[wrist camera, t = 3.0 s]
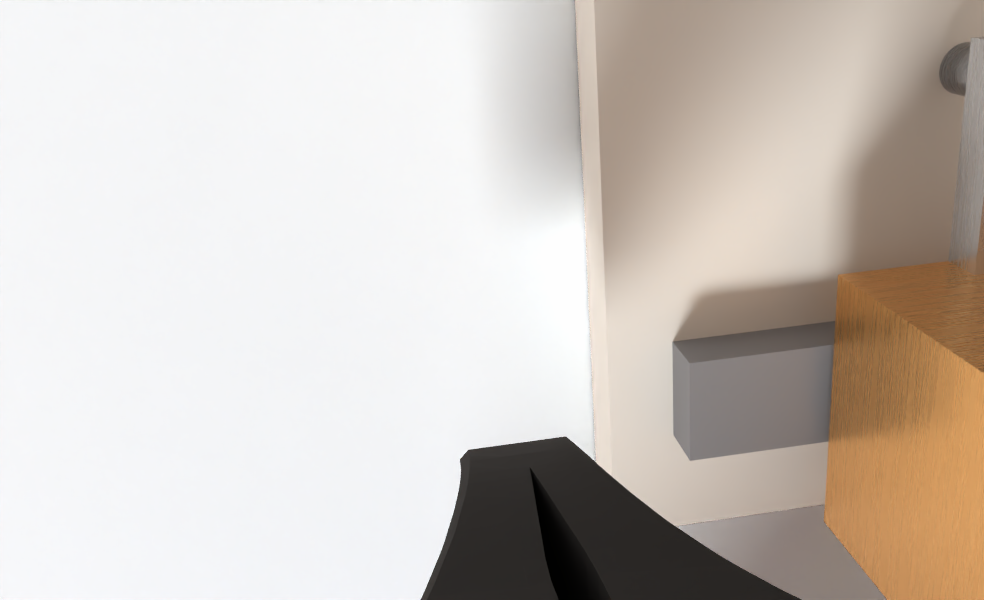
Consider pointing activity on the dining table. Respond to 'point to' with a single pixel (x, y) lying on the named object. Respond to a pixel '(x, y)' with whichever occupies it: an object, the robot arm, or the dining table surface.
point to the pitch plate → (749, 224)
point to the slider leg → (917, 395)
